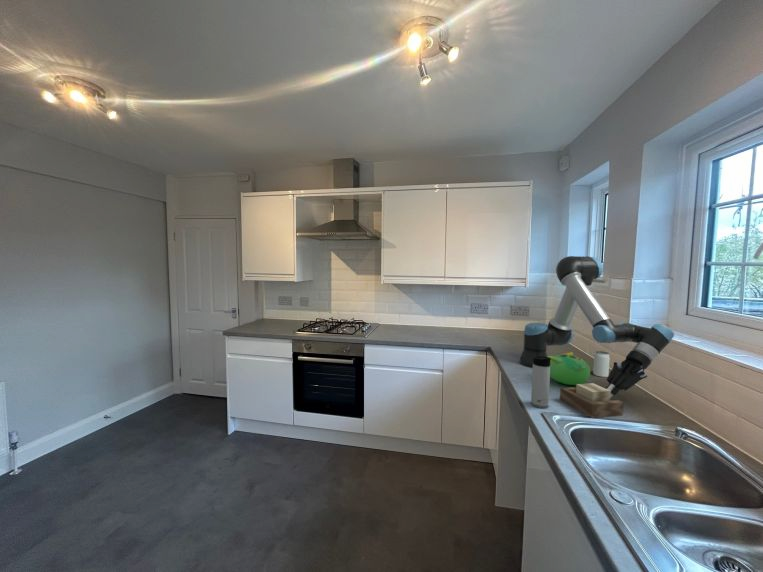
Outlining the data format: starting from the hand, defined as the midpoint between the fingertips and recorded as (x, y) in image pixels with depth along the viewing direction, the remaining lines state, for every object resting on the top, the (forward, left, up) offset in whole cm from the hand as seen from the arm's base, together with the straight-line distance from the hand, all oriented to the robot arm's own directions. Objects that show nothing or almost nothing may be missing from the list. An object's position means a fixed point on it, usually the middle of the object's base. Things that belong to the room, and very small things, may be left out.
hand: (604, 398), depth 126 cm
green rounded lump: (-21, +11, -3) cm, 24 cm away
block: (-2, -5, -3) cm, 6 cm away
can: (-19, +39, -3) cm, 44 cm away
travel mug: (-13, -22, -3) cm, 26 cm away
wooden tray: (-2, -6, -3) cm, 7 cm away
